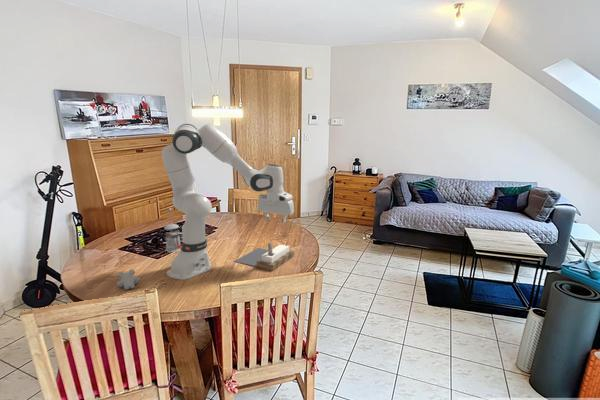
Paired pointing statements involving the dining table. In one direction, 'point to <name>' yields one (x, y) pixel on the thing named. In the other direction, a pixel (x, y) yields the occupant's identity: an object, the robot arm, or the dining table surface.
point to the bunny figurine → (127, 280)
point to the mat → (252, 257)
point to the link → (275, 253)
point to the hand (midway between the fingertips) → (276, 220)
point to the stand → (276, 263)
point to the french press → (172, 237)
